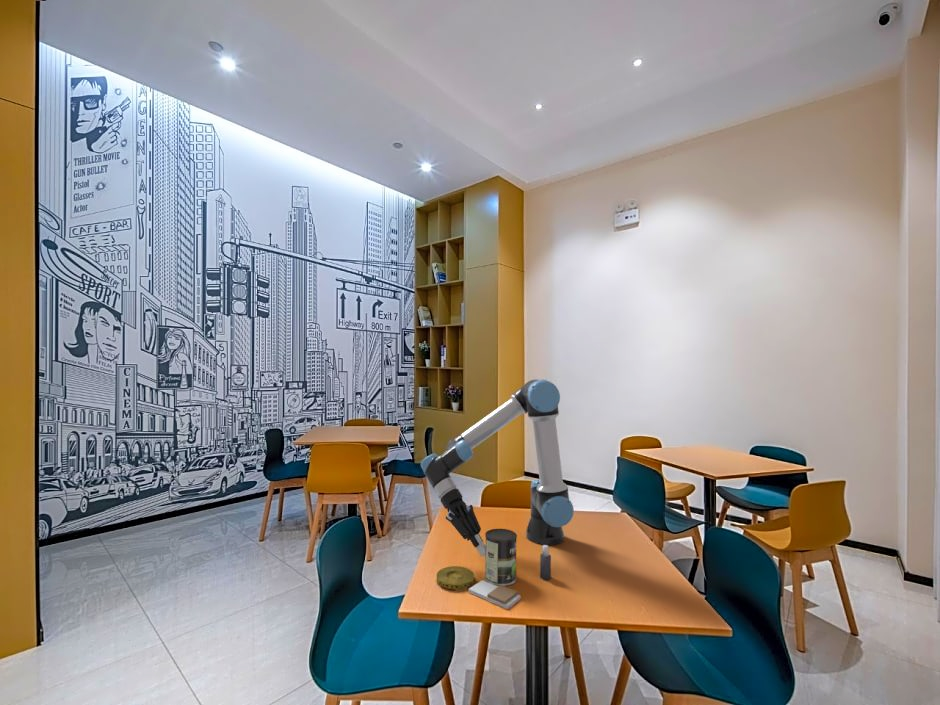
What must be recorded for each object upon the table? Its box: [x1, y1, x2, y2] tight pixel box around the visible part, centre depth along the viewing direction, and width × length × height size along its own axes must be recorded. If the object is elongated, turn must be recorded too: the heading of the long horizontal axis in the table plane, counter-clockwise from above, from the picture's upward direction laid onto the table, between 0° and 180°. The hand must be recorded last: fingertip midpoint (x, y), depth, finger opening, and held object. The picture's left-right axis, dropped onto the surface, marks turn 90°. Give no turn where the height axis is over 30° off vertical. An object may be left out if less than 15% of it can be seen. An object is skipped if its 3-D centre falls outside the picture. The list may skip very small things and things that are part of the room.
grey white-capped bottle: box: [539, 544, 552, 581], centre depth 134 cm, size 3×3×10 cm
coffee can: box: [484, 528, 518, 587], centre depth 133 cm, size 10×10×14 cm
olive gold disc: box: [435, 565, 475, 592], centre depth 131 cm, size 12×12×2 cm
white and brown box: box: [468, 580, 522, 610], centre depth 122 cm, size 7×14×2 cm, turn 52°
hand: (484, 554), depth 137 cm, fingers closed
